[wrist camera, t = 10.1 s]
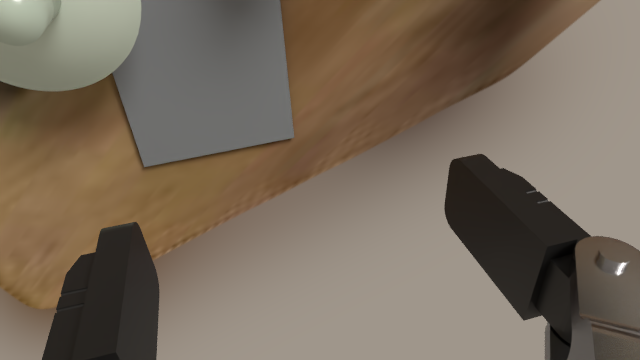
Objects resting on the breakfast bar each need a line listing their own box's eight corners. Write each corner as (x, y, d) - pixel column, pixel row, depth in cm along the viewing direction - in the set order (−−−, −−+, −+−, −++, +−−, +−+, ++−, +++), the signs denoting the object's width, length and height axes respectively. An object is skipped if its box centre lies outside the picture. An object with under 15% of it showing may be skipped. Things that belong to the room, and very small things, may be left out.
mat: (276, -19, 36) (278, -18, 35) (292, 134, 44) (294, 137, 43) (90, 3, 33) (89, 5, 32) (144, 163, 41) (144, 167, 40)
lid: (105, -135, 25) (93, -139, 20) (162, 70, 32) (163, 103, 27) (-144, -118, 23) (-225, -118, 18) (-24, 100, 29) (-59, 142, 25)
